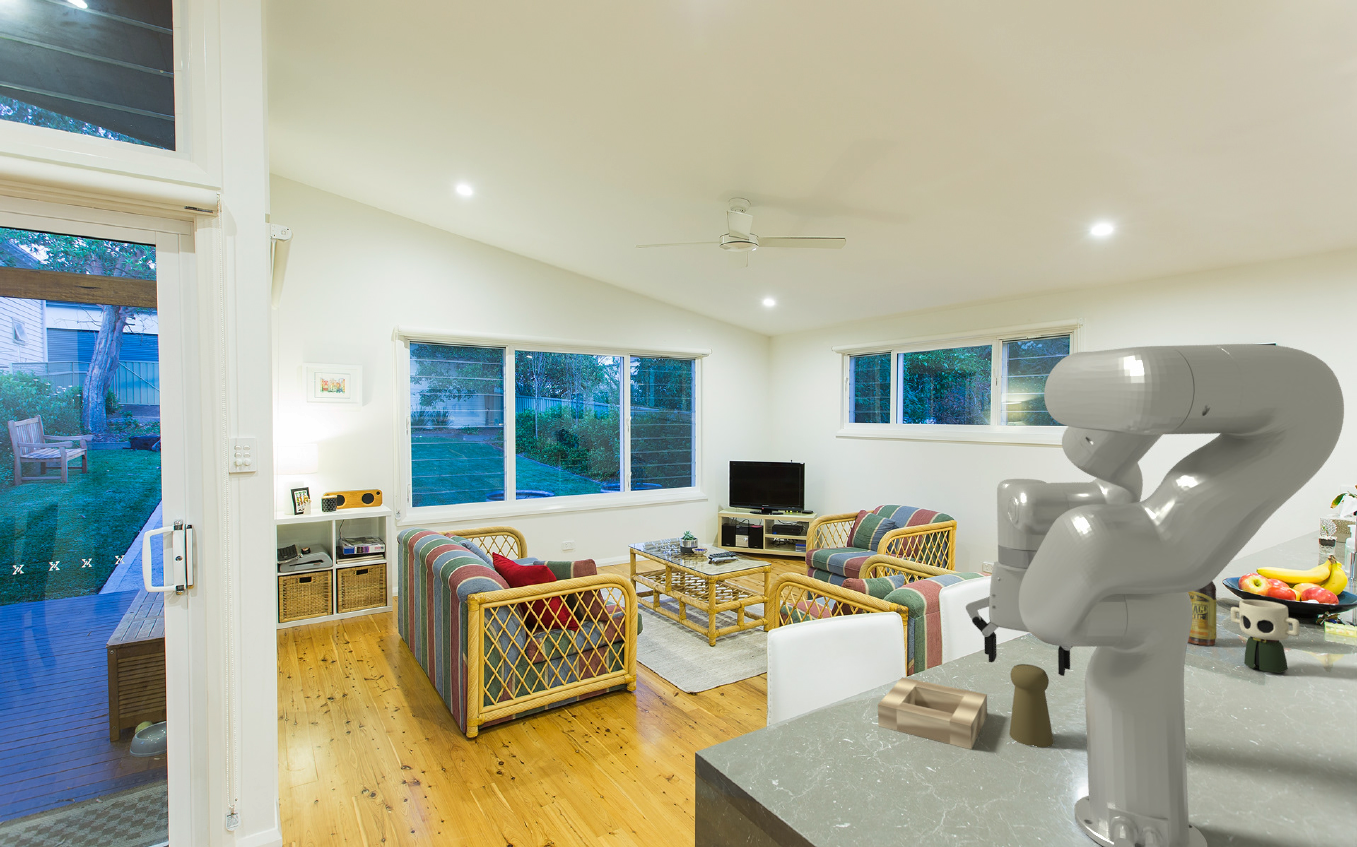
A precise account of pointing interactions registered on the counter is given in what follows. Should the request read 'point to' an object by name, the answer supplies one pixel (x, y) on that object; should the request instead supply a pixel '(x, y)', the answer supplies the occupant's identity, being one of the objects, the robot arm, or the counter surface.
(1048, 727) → the cork
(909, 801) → the counter surface
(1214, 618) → the sauce bottle
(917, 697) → the socket block
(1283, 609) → the character mug
